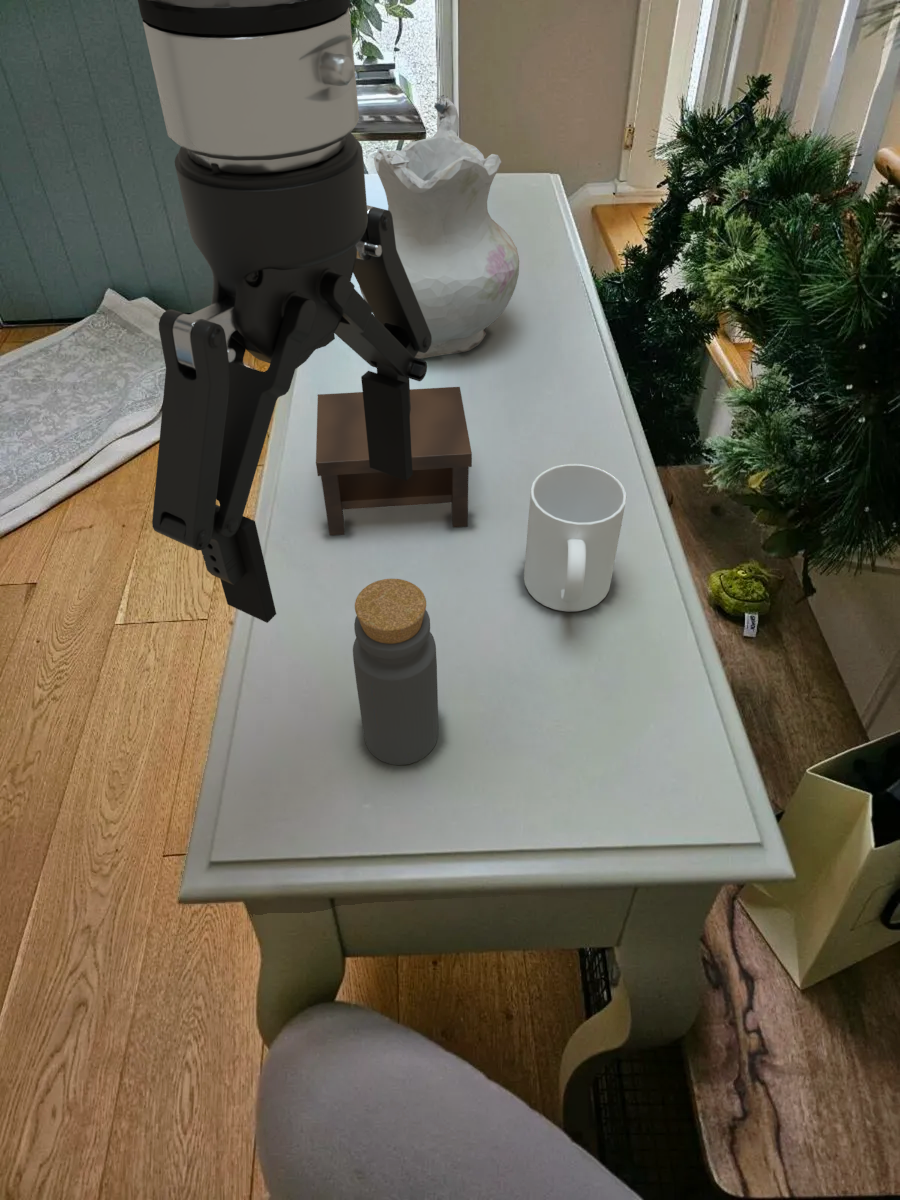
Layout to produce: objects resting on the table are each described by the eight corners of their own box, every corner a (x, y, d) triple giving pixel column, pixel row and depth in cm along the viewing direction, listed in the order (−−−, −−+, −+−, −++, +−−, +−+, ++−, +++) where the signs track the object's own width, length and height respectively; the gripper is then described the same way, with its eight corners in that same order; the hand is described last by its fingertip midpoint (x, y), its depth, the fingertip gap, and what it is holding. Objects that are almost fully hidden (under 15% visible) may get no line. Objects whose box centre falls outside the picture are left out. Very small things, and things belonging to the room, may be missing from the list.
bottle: (393, 779, 64) (380, 650, 53) (349, 729, 67) (328, 598, 57) (453, 738, 67) (453, 607, 56) (408, 692, 70) (399, 559, 59)
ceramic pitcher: (366, 300, 118) (333, 101, 100) (506, 282, 118) (499, 79, 100) (372, 388, 103) (334, 172, 85) (532, 367, 103) (529, 147, 85)
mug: (525, 549, 82) (532, 460, 74) (609, 555, 81) (625, 466, 73) (519, 646, 73) (526, 557, 66) (612, 653, 73) (630, 564, 65)
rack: (326, 537, 83) (315, 462, 76) (327, 467, 90) (317, 394, 84) (470, 528, 84) (471, 453, 77) (459, 459, 91) (459, 386, 85)
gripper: (102, 290, 25) (237, 713, 41) (497, 69, 40) (487, 441, 56) (-63, 236, 28) (122, 653, 43) (364, 48, 43) (390, 408, 58)
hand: (327, 535), depth 50 cm, fingers open, 13 cm apart
